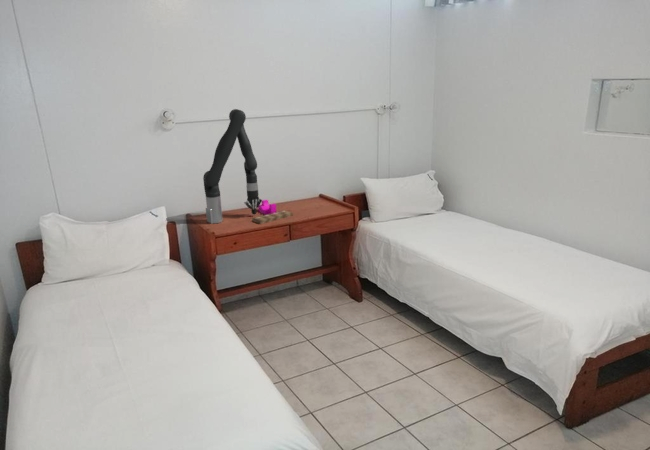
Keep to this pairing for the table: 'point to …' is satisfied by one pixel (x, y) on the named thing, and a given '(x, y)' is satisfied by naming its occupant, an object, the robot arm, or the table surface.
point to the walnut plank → (272, 217)
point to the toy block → (267, 207)
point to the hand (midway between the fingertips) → (254, 214)
